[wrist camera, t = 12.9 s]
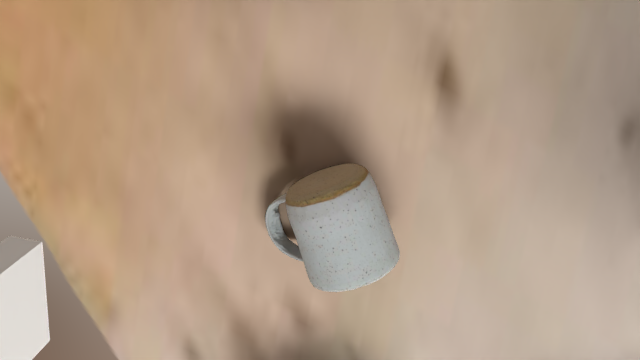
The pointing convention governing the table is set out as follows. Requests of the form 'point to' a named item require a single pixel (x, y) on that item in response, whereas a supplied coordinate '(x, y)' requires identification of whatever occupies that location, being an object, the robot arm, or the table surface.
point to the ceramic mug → (336, 228)
